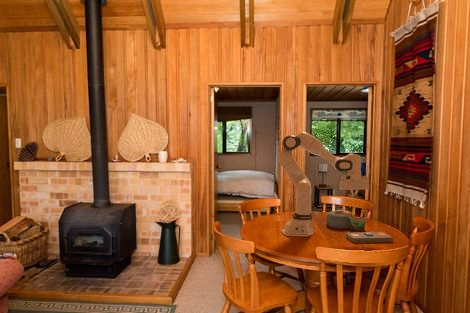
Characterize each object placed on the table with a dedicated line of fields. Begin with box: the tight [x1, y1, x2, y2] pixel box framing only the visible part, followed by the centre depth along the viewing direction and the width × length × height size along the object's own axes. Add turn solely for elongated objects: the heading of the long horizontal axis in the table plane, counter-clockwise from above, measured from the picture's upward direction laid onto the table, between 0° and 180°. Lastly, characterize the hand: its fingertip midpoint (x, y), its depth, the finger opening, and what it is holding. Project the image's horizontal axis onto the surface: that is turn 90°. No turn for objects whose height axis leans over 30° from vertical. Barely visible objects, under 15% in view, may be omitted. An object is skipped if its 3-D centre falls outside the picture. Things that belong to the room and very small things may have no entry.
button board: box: [345, 231, 394, 244], centre depth 196 cm, size 26×12×3 cm, turn 92°
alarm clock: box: [325, 209, 354, 230], centre depth 230 cm, size 19×20×12 cm
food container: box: [349, 216, 368, 232], centre depth 216 cm, size 12×6×10 cm, turn 68°
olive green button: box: [363, 231, 373, 236], centre depth 196 cm, size 4×4×2 cm
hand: (354, 195), depth 208 cm, fingers closed
